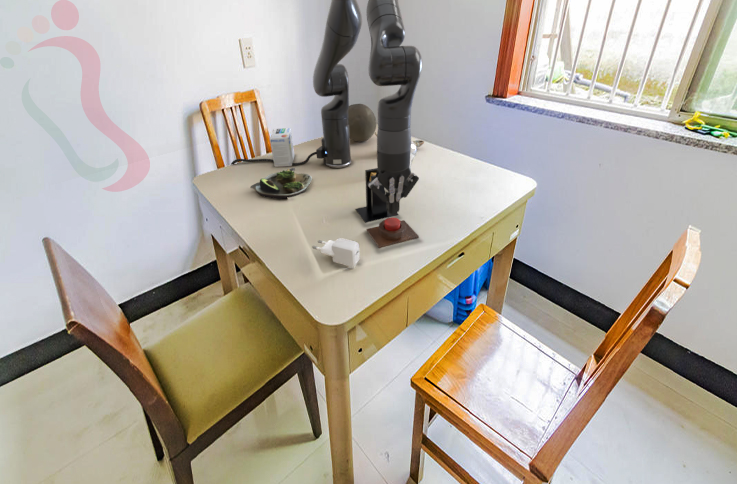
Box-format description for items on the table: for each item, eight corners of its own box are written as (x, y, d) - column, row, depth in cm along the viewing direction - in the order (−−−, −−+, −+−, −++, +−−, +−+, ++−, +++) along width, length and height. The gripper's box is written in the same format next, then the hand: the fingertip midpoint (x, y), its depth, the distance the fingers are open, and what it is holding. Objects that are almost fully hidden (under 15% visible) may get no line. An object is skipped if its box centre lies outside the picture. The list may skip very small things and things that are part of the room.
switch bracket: (387, 205, 112) (387, 163, 104) (398, 218, 106) (399, 174, 98) (355, 212, 109) (353, 169, 101) (365, 225, 103) (364, 181, 95)
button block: (403, 224, 103) (404, 213, 101) (418, 241, 96) (419, 229, 94) (366, 233, 99) (366, 222, 97) (379, 251, 93) (379, 239, 91)
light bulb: (415, 169, 132) (417, 136, 125) (415, 178, 126) (417, 144, 119) (396, 169, 132) (396, 136, 125) (395, 178, 127) (395, 143, 120)
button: (396, 221, 98) (396, 216, 97) (402, 229, 95) (402, 223, 94) (382, 225, 97) (382, 219, 96) (388, 233, 94) (388, 227, 93)
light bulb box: (277, 156, 145) (272, 128, 139) (295, 155, 145) (291, 127, 139) (274, 167, 136) (269, 138, 130) (292, 166, 137) (288, 137, 130)
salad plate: (273, 170, 134) (271, 158, 131) (320, 175, 130) (319, 162, 127) (246, 196, 118) (243, 183, 116) (298, 201, 115) (296, 188, 112)
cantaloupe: (351, 134, 163) (349, 98, 155) (381, 138, 158) (381, 101, 150) (336, 145, 153) (333, 107, 144) (368, 149, 148) (367, 111, 139)
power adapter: (311, 260, 90) (308, 241, 87) (321, 249, 94) (319, 230, 91) (353, 272, 87) (351, 251, 83) (361, 260, 90) (361, 240, 87)
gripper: (412, 136, 88) (409, 201, 98) (360, 145, 84) (362, 211, 94) (428, 147, 83) (423, 214, 93) (372, 157, 79) (374, 226, 89)
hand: (392, 213), depth 93 cm, fingers closed
